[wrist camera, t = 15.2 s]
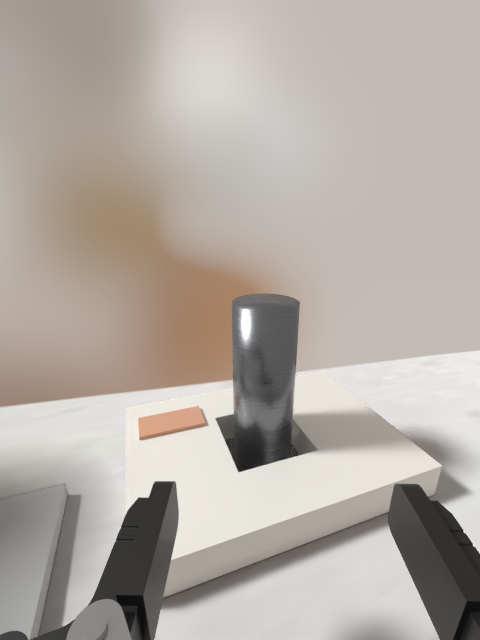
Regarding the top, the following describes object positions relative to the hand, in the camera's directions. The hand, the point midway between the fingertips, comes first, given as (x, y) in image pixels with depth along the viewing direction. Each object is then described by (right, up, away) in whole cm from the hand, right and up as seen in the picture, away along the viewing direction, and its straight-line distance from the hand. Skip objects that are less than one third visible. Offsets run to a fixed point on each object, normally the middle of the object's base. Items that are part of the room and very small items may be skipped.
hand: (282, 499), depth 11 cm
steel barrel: (0, -5, +13) cm, 14 cm away
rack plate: (0, -4, +13) cm, 14 cm away
